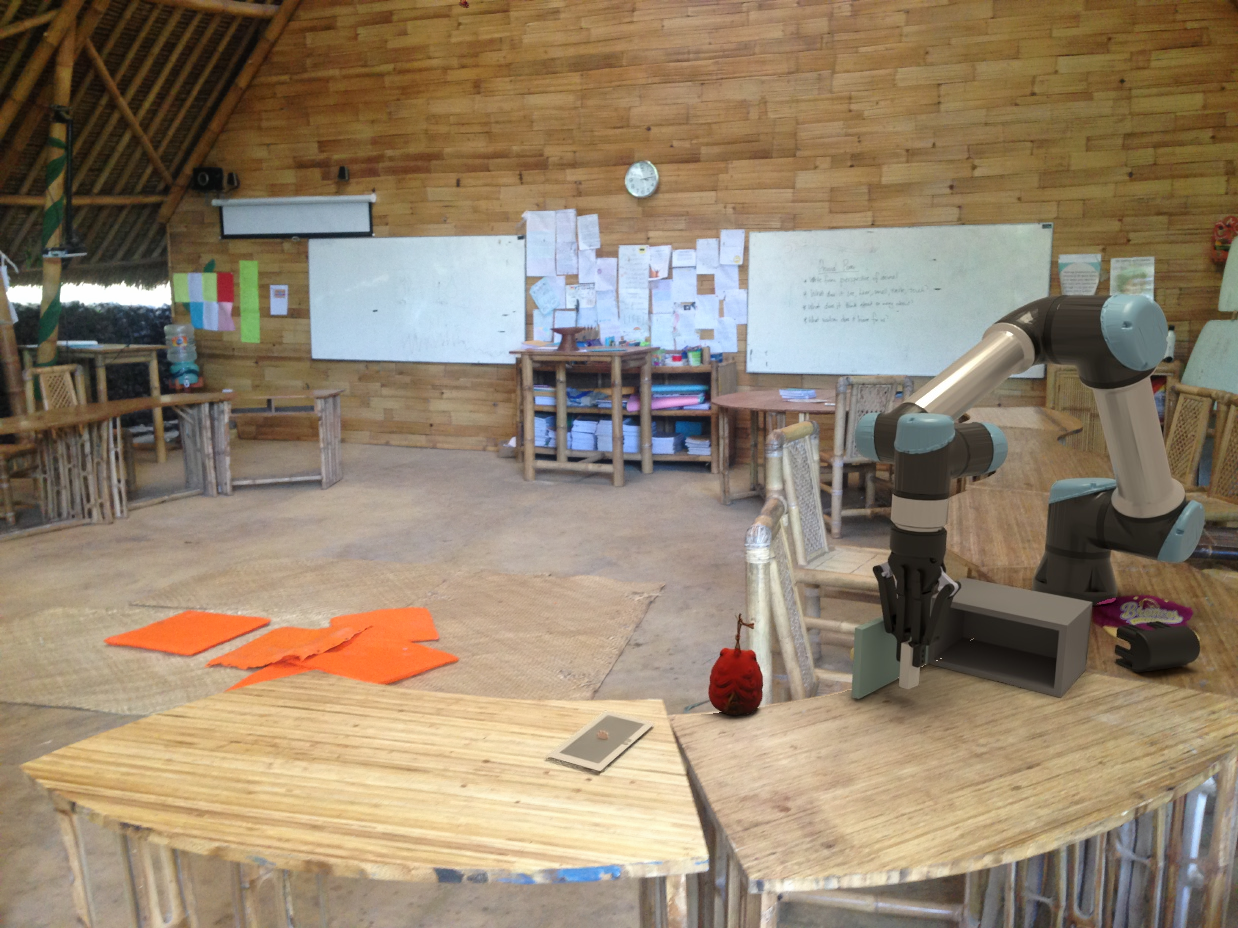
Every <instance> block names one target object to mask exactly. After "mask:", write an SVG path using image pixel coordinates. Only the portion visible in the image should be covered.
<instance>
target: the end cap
mask: <svg viewBox="0 0 1238 928" xmlns="http://www.w3.org/2000/svg"><path fill="white" fill-rule="evenodd" d="M1146 626H1147V627H1150V628H1151V629H1146V628H1143V627H1140V626H1138V625H1134V624H1131V623H1130V624H1126V625H1125V624H1123V625H1119V626H1118V627H1117V628H1116V633H1115V638H1117V639H1120V640H1122V641H1125V642H1127V643H1129V647H1130V648H1126V647H1124V646H1122V645H1120V644H1115V645H1114V654H1115V655H1116V656H1118V657H1119V658H1115V660H1114V662H1115V664H1116V665H1118V666H1120V667H1123V668H1125V669H1127V670H1129V671H1131V672H1134V673H1145V672H1152V671H1158V670H1166V669H1172V668H1179V667H1184V666H1186V665H1188V664H1191V663H1193V662H1195V661H1196V660H1197V659H1198V657H1199V655H1200V652H1201V644H1200V640H1199V638H1198V635H1197V634H1196V632H1195V631H1194V630H1193V629H1192V628H1191V627H1189V626H1187V625H1185V624H1184V625H1175V626H1172V625H1170V624H1168V623H1164V622H1163V621H1159V620H1156V621H1149V622H1146Z"/></svg>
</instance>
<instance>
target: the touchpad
mask: <svg viewBox="0 0 1238 928" xmlns="http://www.w3.org/2000/svg"><path fill="white" fill-rule="evenodd" d="M655 724H656V722H655V721H652V720H651V721H650V720H647V719H642V718H639V717H634V716H630V715H628V714H627V715H625V714H622V713H618V712H614V711H610V710H604V711H602V712H601V713H600V714H598V715H597V716H595V717H594V718H593V719H592V720H590V721H589V722H588V723H586V724H584V726H582V727H581V728H580V729H578V730H577V731H576V732H575V733H573V734H572V735H571V736H570V737H568V738H567V739H566V740H564V741H563V742H561V743H560V744H559V745H557V746H556V747H555V748H554V749H553V750H551V751H550V752H548V753H547V754H546V755H545V756H546V757H549V758H552V759H556V760H559V761H563V762H567V763H570V764H573V765H577V766H580V767H584V768H587V769H591V770H594V771H595V770H596V771H597V772H601V771H602V770H604V769H605V768H606V767H607V766H608V765H609V764H610V763H612V761H614V760H615V759H616V758H617V757H618V756H619V755H621V754H622V753H623V752H624V751H625V750H626V749H628V748H629V747H630V746H631V745H632V744H633V743H634V742H636V741H637V740H638V739H639V738H640V737H641V736H642V735H644V734H645V733H646V732H648V730H650V729H651V728H652V727H653V726H655Z"/></svg>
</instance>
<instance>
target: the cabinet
mask: <svg viewBox="0 0 1238 928" xmlns="http://www.w3.org/2000/svg"><path fill="white" fill-rule="evenodd" d="M957 581H959V582H960V583H961V589H960V590H959V591H958V592H957V593H956V595H955V596H954V598H953V601H952V604H951V607H950V610H949V613H948V616H947V619H946V623H945V626H944V629H943V632H942V635H941V638H940V641H938V642H936V643H934V644H931V645H929V653H928V663H927V664H926V665H931V666H935V667H939V668H943V669H947V670H951V671H954V672H958V673H963V674H965V675H970V676H973V677H974V676H975V677H978V678H982V679H986V680H989V679H992V680H991V681H993V680H994V682H997V681H999V682H998V683H1001V682H1004V683H1003V684H1005V683H1007V684H1006V685H1009V684H1010V686H1013V685H1014V687H1017V688H1020V687H1021V689H1024V690H1029V691H1032V692H1036V693H1037V692H1038V693H1040V694H1045V695H1049V696H1053V697H1056V698H1060V699H1061V698H1062V697H1063V696H1064V695H1065V694H1066V693H1067V691H1068V690H1069V689H1071V687H1072V686H1073V685H1074V684H1075V682H1077V680H1078V679H1079V678H1080V676H1081V675H1082V674H1083V673H1084V672H1085V671H1086V670H1087V663H1088V653H1089V643H1090V634H1091V633H1090V632H1091V631H1090V629H1091V624H1092V623H1091V621H1092V611H1093V605H1092V602H1089V601H1084V600H1079V599H1074V598H1069V597H1063V596H1058V595H1053V594H1048V593H1042V592H1037V591H1033V590H1032V589H1025V588H1022V587H1021V588H1020V587H1015V586H1012V585H1011V586H1010V585H1006V584H999V583H994V582H988V581H984V580H980V579H979V580H978V579H975V578H968V577H962V578H960V579H958V580H957ZM939 592H940V591H938V592H937V593H935V594H933V596H932V597H931V599H932V607H931V612H932V609H933V606H934V603H935V599H936V597H937V595H938V593H939ZM973 638H974V639H973ZM971 639H973V640H971ZM970 640H971V641H970ZM940 658H942V659H940ZM936 660H938V661H936ZM929 663H930V664H929Z"/></svg>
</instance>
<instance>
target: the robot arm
mask: <svg viewBox="0 0 1238 928" xmlns="http://www.w3.org/2000/svg"><path fill="white" fill-rule="evenodd" d="M1167 337H1169V327H1168V322H1167V318H1166V316H1165V314H1164V311H1163V309H1162V308H1161V306H1160V305H1159V304H1158V302H1156V301H1155V300H1154V299H1152V298H1151V297H1147V296H1144V295H1138V294H1137V295H1134V294H1128V293H1116V294H1111V295H1109V294H1105V295H1104V294H1101V295H1100V294H1099V295H1098V294H1093V295H1092V294H1087V295H1086V294H1072V295H1071V294H1055V295H1051V296H1050V295H1049V296H1045V297H1041V298H1039V299H1036V300H1033V301H1030V302H1028V303H1026V304H1024V305H1022V306H1020V307H1018V308H1016V309H1014V310H1013V311H1011V312H1009V313H1007V314H1006V315H1003V316H1002V317H1001V318H1000V319H998V320H997V321H996V322H994V323H993V324H991V325H990V326H989V327H988V328H986V330H985V331H984V333H983V334H982V337H981V341H979V342H978V343H977V344H975V345H974V346H973V347H971V348H970V349H969V350H968V351H966V352H965V353H964V354H962V355H961V356H960V357H958V358H957V359H956V360H955V361H954V362H952V363H951V364H950V365H948V366H947V367H946V368H945V369H944V370H942V371H941V372H939V373H938V374H937V375H935V377H933V378H932V379H931V380H929V381H928V382H927V383H926V384H924V385H923V386H921V387H920V388H919V389H918V390H916V391H915V392H914V393H913V394H911V395H910V396H909V397H908V398H906V399H905V400H903V401H902V402H901V403H900V404H898V406H895V408H893V409H892V410H890V412H887V413H884V412H883V411H879V412H869V413H866V414H864V415H863V416H862V417H861V418H860V419H859V421H858V422H857V424H856V426H855V429H854V430H855V431H854V436H853V437H854V444H855V448H856V450H857V452H858V453H859V454H860V456H862V457H863V458H865V459H868V460H872V461H876V462H879V463H881V464H891V465H894V469H893V470H894V471H893V473H894V474H893V487H892V496H891V497H892V498H891V510H890V520H891V522H892V523H893V524H892V525H891V526H890V531H889V549H890V554H889V555H888V557H887V561H886V562H884V563H880V564H878V565H874V566H873V567H872V572H873V574H874V577H875V579H876V581H877V586H878V592H879V599H880V606H881V607H880V608H881V612H882V616H883V620H884V627H885V631H886V632H887V633H889V634H890V633H891V634H892V635H894V636H895V637H896V639H897V649H896V650H897V651H896V659H897V661H899V662H900V677H899V678H898V680H899V681H898V687H900V688H903V689H906V690H910V689H913V688H914V687H917V686H919V684H920V674H921V672H920V670H921V666H922V667H924V666H925V665H924V664H925V657H926V645H927V646H929V645H931V644H934V643H936V642H938V641H940V638H941V635H942V632H943V629H944V626H945V623H946V619H947V616H948V613H949V610H950V607H951V604H952V601H953V598H954V596H955V595H956V593H957V592H958V591H959V590H960V589H961V583H960V582H959V581H958V580H955V581H954V580H953V579H952V578H951V577H950V576H949V575H948V574H947V567H946V564H945V561H944V560H945V556H946V553H947V551H946V550H947V538H948V530H947V529H946V527H945V526H947V524H948V520H949V517H948V516H949V505H950V504H949V503H950V492H951V491H950V490H951V489H950V488H951V481H952V480H955V479H960V478H967V477H975V476H977V477H980V476H984V475H985V474H988V473H991V472H994V471H996V470H998V469H999V468H1001V467H1002V465H1003V464H1004V463H1005V462H1006V459H1007V457H1008V452H1009V446H1008V444H1009V443H1008V440H1007V437H1006V435H1005V434H1004V432H1003V431H1002V430H1001V428H999V427H998V425H995V424H993V423H990V422H978V421H972V422H970V423H969V422H968V423H965V422H963V423H962V422H956V421H957V420H958V419H960V418H961V417H962V416H963V415H965V414H966V413H967V412H968V411H969V410H971V409H972V408H973V407H974V406H976V405H977V404H978V403H979V402H980V401H982V400H983V399H984V398H986V397H987V396H989V394H990V393H991V392H994V390H995V389H997V388H998V387H999V386H1000V385H1001V384H1003V383H1004V382H1005V381H1006V380H1007V379H1008V378H1010V377H1012V375H1020V374H1023V373H1025V372H1027V371H1028V370H1029V369H1031V368H1032V367H1034V366H1040V365H1059V366H1060V365H1061V366H1062V365H1063V366H1074V367H1075V368H1076V370H1077V374H1078V375H1077V376H1078V378H1079V381H1080V383H1081V384H1082V385H1083V386H1084V387H1085V388H1088V389H1090V390H1092V392H1093V396H1094V399H1095V404H1096V408H1097V411H1098V414H1099V415H1098V416H1099V420H1100V423H1101V427H1102V431H1103V435H1104V436H1103V437H1104V440H1105V443H1106V447H1107V452H1108V455H1109V459H1110V463H1111V467H1112V471H1113V475H1114V478H1115V479H1113V478H1108V477H1077V478H1076V477H1075V478H1067V479H1066V478H1065V479H1060V480H1057V481H1055V482H1054V483H1053V484H1052V485H1051V487H1050V491H1049V495H1048V501H1047V504H1048V505H1047V506H1048V507H1047V517H1046V519H1047V520H1046V529H1045V530H1046V531H1045V541H1044V542H1045V543H1044V552H1043V554H1042V557H1041V559H1040V561H1039V564H1038V566H1037V567H1036V570H1035V573H1034V575H1033V576H1032V582H1031V583H1032V584H1031V590H1032V591H1037V592H1042V593H1048V594H1053V595H1058V596H1063V597H1069V598H1074V599H1079V600H1084V601H1089V602H1092V606H1097V605H1096V604H1097V603H1099V602H1102V601H1105V600H1107V599H1112V598H1116V597H1117V598H1118V592H1119V591H1118V584H1117V581H1116V578H1115V573H1114V570H1113V566H1112V561H1111V556H1112V551H1114V552H1118V553H1122V554H1127V555H1131V556H1135V557H1140V558H1144V559H1147V560H1151V561H1156V562H1165V563H1173V564H1180V563H1183V562H1185V561H1187V560H1188V559H1189V558H1190V557H1191V555H1192V554H1193V553H1194V551H1195V550H1196V548H1197V546H1198V544H1199V542H1200V540H1201V536H1202V533H1203V530H1204V525H1205V522H1206V521H1205V520H1206V511H1205V507H1204V505H1203V504H1202V503H1201V502H1198V501H1196V500H1194V499H1191V500H1189V499H1187V496H1186V495H1187V494H1186V492H1185V491H1186V490H1185V488H1184V486H1183V484H1182V483H1181V482H1180V481H1179V480H1177V479H1176V478H1173V477H1172V472H1171V468H1170V464H1169V459H1168V454H1167V450H1166V446H1165V441H1164V435H1163V432H1162V426H1161V422H1160V417H1159V413H1158V408H1157V404H1156V403H1157V402H1156V399H1155V395H1154V390H1153V384H1152V380H1151V376H1152V375H1153V374H1155V372H1156V371H1157V368H1158V365H1159V364H1160V363H1161V362H1162V361H1163V359H1164V357H1165V355H1166V352H1167V350H1168V349H1167V348H1168V345H1169V342H1168V341H1167ZM938 584H939V585H938ZM937 585H938V587H937V591H938V592H939V593H938V592H937V593H938V595H937V597H936V599H935V603H934V606H933V609H932V612H931V616H930V608H931V597H932V596H933V595H934V592H935V591H934V589H935V587H936V586H937ZM910 637H912V638H911V640H910Z"/></svg>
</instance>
